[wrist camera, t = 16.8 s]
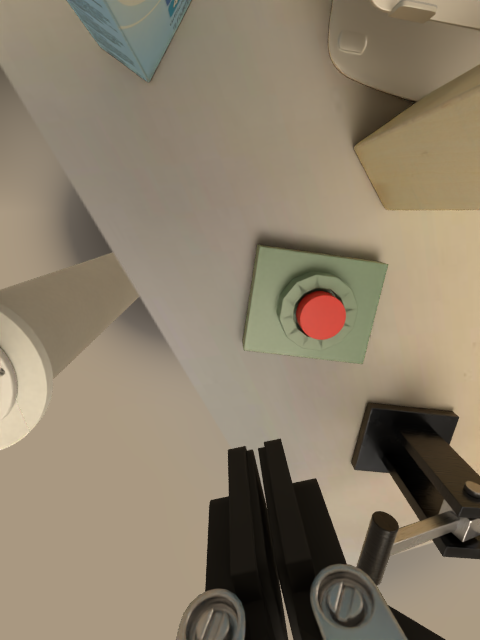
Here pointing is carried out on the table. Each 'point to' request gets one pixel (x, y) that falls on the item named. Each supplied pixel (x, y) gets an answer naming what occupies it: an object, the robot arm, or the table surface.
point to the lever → (408, 537)
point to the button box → (295, 283)
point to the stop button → (320, 315)
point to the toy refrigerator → (429, 151)
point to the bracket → (421, 465)
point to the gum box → (132, 29)
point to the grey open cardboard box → (404, 43)
